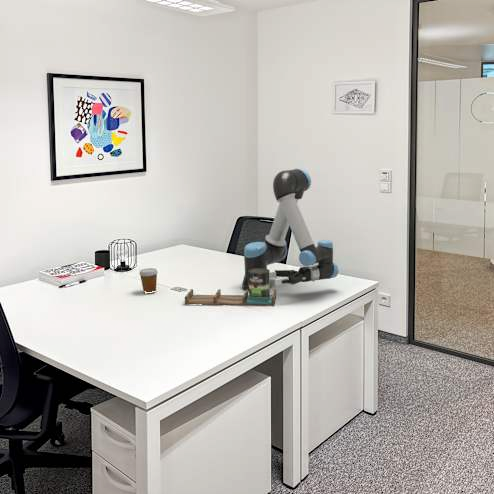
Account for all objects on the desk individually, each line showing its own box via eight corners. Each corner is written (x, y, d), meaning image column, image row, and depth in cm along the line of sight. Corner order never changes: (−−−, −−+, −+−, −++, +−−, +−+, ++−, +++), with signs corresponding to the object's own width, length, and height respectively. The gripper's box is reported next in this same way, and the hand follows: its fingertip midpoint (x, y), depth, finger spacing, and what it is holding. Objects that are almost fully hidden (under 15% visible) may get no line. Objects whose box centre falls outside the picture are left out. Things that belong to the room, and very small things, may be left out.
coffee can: (266, 302, 283) (265, 273, 280) (245, 300, 286) (244, 272, 284) (273, 296, 292) (272, 268, 289) (253, 295, 296) (252, 267, 293)
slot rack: (191, 296, 301) (191, 289, 300) (276, 297, 295) (276, 289, 294) (185, 305, 287) (184, 297, 286) (274, 305, 281) (273, 297, 281)
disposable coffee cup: (155, 295, 306) (153, 272, 303) (137, 294, 308) (136, 272, 305) (161, 290, 315) (160, 268, 312) (144, 289, 317) (143, 267, 314)
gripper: (320, 287, 285) (280, 293, 278) (297, 275, 308) (259, 280, 301) (320, 271, 284) (279, 277, 276) (297, 261, 307) (259, 266, 299)
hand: (269, 279), depth 288 cm, fingers open, 13 cm apart
